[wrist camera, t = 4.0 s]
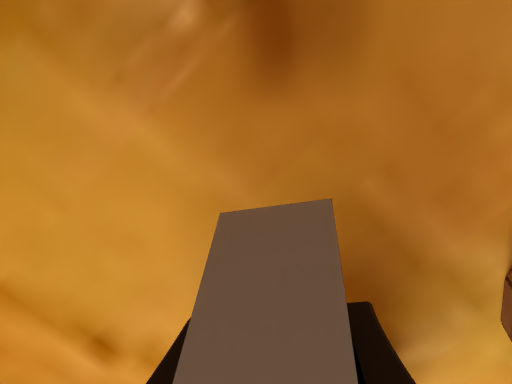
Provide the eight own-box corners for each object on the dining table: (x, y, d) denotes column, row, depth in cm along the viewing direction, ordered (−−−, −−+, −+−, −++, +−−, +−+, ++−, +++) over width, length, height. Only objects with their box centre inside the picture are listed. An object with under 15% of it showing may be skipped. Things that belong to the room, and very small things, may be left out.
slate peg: (343, 285, 17) (394, 647, 8) (243, 295, 17) (192, 639, 9) (331, 198, 15) (381, 548, 6) (220, 213, 16) (126, 548, 7)
